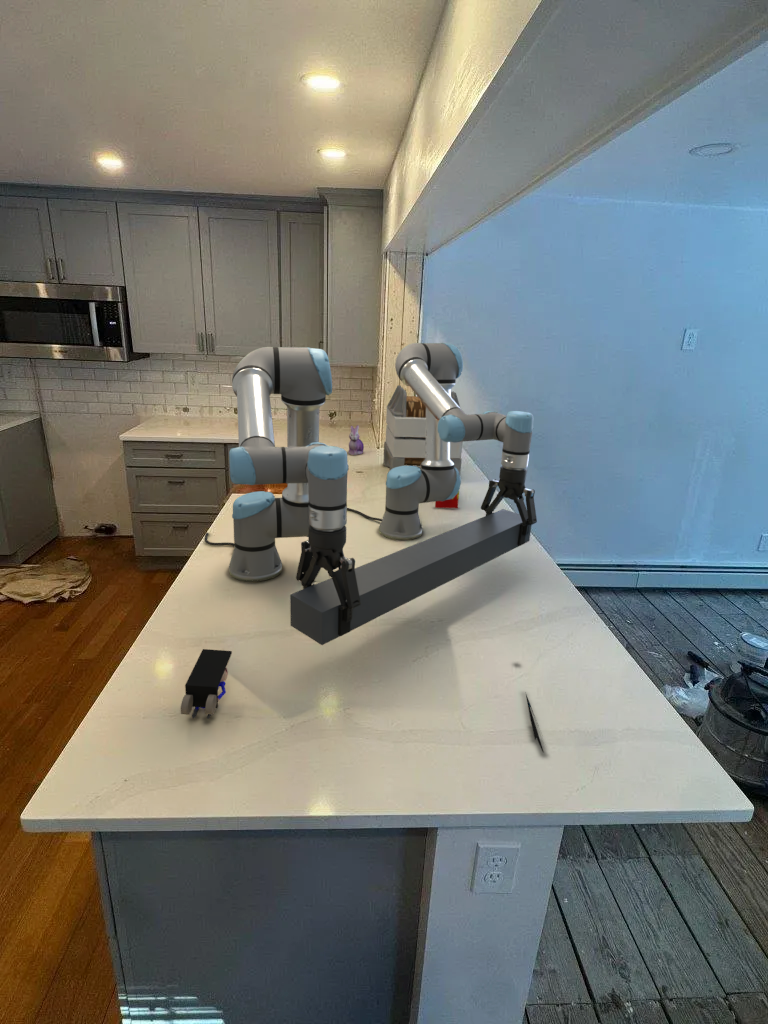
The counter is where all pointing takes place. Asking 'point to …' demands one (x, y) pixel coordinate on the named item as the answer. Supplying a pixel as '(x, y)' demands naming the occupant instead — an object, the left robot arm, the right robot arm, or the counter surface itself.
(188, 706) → the black toy cart
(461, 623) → the counter surface
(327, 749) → the counter surface
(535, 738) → the feather
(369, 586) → the dark gray long bar
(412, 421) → the grey slatted crate
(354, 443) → the figurine
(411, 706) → the counter surface
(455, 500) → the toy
